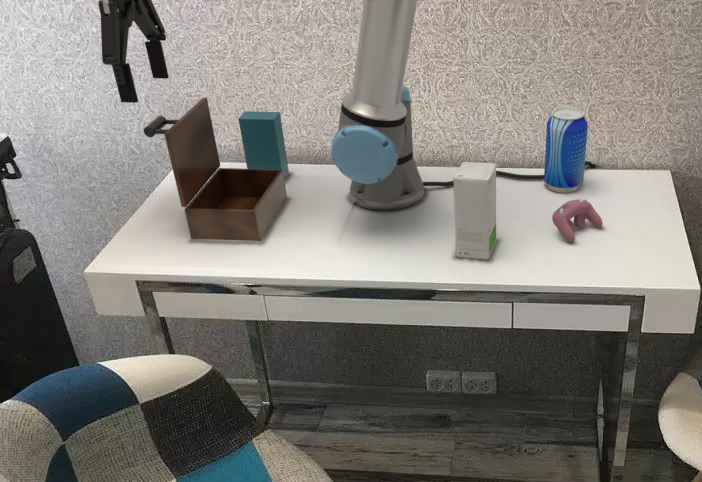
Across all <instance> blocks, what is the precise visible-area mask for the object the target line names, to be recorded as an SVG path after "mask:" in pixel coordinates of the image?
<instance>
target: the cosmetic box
mask: <svg viewBox="0 0 702 482" xmlns="http://www.w3.org/2000/svg"><path fill="white" fill-rule="evenodd" d="M496 171H497V163H495V162H494V163H493V162H475V161H462V163H461V164H460V166H459V167H457V169H456V172H455V173H454V175H453V178H452V179H453V181H454V185H453V205H454V231H455V232H454V233H455V234H454V235H455V257H457V258H465V259H474V260H475V259H476V260H489V259H490V258H491V254H492V253H493V249H494V247H495V245H496V243H497V175H496Z"/></svg>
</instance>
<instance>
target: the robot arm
mask: <svg viewBox="0 0 702 482" xmlns="http://www.w3.org/2000/svg"><path fill="white" fill-rule="evenodd" d="M417 3H418V0H363V5H362V12H361V20H360V26H359V27H360V28H359V36H358V43H357V51H356V58H355V65H354V73H353V81H352V86H351V88H350V89H349V90H350V92H348V93H346V94H344V96H342V99H341V106H340V112H339V120H338V122H339V123H338V128H337V132H336V133H335V134H334V136H333V139H332V141H331V157H332V161H333V163H334V165H335V166H336V168H337V169H338V170H339V171H340V173H341V174H342V175H343V176H345V178H347V179H349V180H351V182H350V186H349V192H350V198H351V199H352V201H354V204H355V205H357V206H359V207H362V208H365V209H367V210H368V209H369V210H373V211H374V210H376V211H392V210H393V211H394V210H400V209H404V208H408V207H411V206H413V205H415V204H417V203H418V202H420V201H421V200H422V199H423V197H424V194H425V191H424V190H425V187H450V186H454V180H449V181H423V180H422V176H421V175H420V172H419V169H418V167H417V165H416V161H415V159H414V144H413V143H414V142H413V141H414V140H413V126H412V105H411V104H412V103H413V102H412V99H411V93H410V89H409V88H408V87H407V86H406V85H405V84H404V82H405V81H404V80H405V74H406V68H407V62H408V57H409V51H410V44H411V39H412V38H411V37H412V33H413V27H414V21H415V15H416V8H417ZM97 4H98V9H99V14H100V36H101V62H102V63H103V65H107V66H111V67H112V72H113V75H114V79H115V83H116V87H117V91H118V95H119V98H120V103H134V104H137V103H138V102H139V98H138V94H137V90H136V85H135V82H134V77H133V73H132V70H131V65H130V63H129V62H128V63H127V55H128V54H127V53H128V42H129V32H130V28H131V27H132V26H133V22H134V23H135V25H136V26H137V28H138V29H139V30H140V32H141V33H142V35H143V36H144V38H145V39H146V40H147V41H144V44H145V49H146V54H147V58H148V62H149V66H150V67H149V68H150V71H151V75H152V79H165V80H166V79H169V72H168V67H167V64H166V58H165V53H164V49H163V44H162V41H166V40H167V36H166V30H165V27H164V25H163V22H162V20H161V18H160V16H159V14H158V12H157V10H156V7H155V5H154V3H153V1H152V0H98V3H97ZM591 162H592V161H591V160H590V161H589V160H585V166H589V167H591V168H596V167H597V165H596V164H595V163H594V162H592V163H593V164H592V163H591ZM496 176H500V177H507V178H512V179H516V180H517V179H518V180H544V174H518V173H512V172H507V171H502V170H496Z"/></svg>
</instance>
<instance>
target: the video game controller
mask: <svg viewBox="0 0 702 482" xmlns="http://www.w3.org/2000/svg"><path fill="white" fill-rule="evenodd" d="M551 218H552V223H553V225H554V227H556V228H557V230H558V233H560V235H561V236H562V238H563V239H564V240H566V241H567V242H568V243H571V244H572V243H574V242H575V241H576V237H575V233H574V232H575V231H576V230H575V229H582V228H584V227H585V225H586V220H587V221H588V222H589V223H590V224H591V225H592V226H594V227H595V228H597V229H601V228H602V227H603V219H602V218H601V216H600V214H599V213H598V212H597V210H596V209H595V208H594V207H593V205H592V203H590V202H589V201H588V200H587V199H583V198H582V199H581V198H580V199H579V198H578V199H572V200H568V201H566V202H564V203H562V204H561V206H559V208H557V209H556V210H555V211H554V212H553V213H552V216H551ZM571 219H573V220H571Z"/></svg>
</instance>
